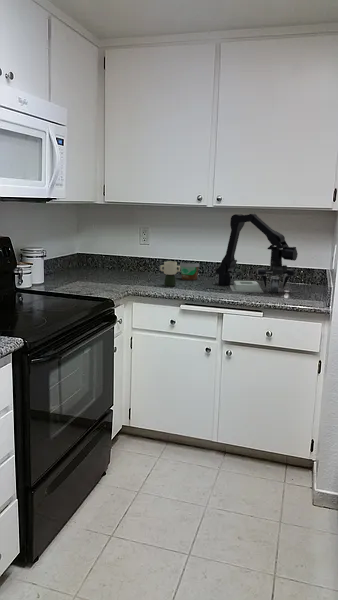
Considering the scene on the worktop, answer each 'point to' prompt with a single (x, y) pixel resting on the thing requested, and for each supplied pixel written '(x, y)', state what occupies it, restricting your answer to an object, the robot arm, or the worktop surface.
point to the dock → (246, 287)
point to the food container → (189, 271)
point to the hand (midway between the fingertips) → (274, 288)
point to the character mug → (170, 272)
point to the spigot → (274, 284)
